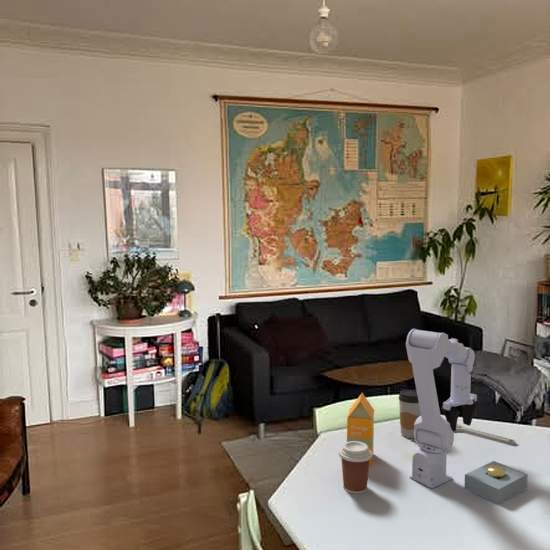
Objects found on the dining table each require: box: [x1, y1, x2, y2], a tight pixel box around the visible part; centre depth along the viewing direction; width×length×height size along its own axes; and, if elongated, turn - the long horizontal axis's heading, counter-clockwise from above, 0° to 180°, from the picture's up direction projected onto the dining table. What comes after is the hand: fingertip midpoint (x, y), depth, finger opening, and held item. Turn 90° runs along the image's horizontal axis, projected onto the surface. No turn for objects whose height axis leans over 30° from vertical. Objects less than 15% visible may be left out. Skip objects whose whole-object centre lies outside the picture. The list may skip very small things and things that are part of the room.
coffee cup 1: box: [338, 441, 372, 495], centre depth 143 cm, size 9×9×12 cm
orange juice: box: [346, 392, 375, 467], centre depth 160 cm, size 8×9×20 cm
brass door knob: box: [486, 465, 506, 479], centre depth 143 cm, size 5×5×6 cm
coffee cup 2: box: [398, 389, 421, 439], centre depth 179 cm, size 8×8×15 cm
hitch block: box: [463, 460, 528, 505], centre depth 143 cm, size 14×10×4 cm
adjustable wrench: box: [453, 423, 517, 446], centre depth 179 cm, size 25×6×2 cm, turn 44°
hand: (459, 427), depth 162 cm, fingers open, 7 cm apart
